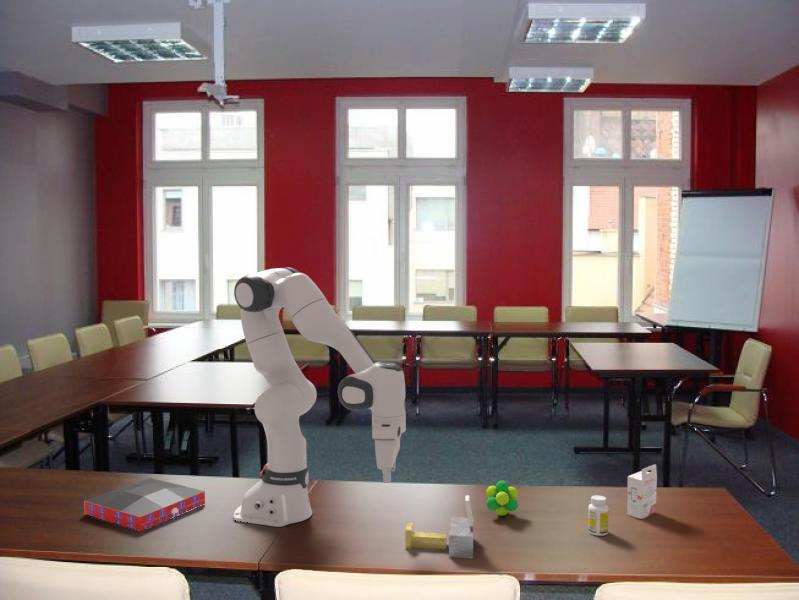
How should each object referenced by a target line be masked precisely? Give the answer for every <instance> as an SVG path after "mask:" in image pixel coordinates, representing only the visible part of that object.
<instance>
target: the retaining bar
mask: <svg viewBox="0 0 799 600" xmlns="http://www.w3.org/2000/svg"><path fill="white" fill-rule="evenodd" d="M464 499H465V500H464V502H465V509H466V514H467V518H468V522H469V528H470V529H473V525H474V524H475V523H474V522H475V521H473V518H474V516H473V510H472V503H471V499H470V495H469V494H468V495H466V494H465V498H464ZM474 526H475V525H474Z"/></svg>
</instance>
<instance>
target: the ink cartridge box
mask: <svg viewBox="0 0 799 600" xmlns="http://www.w3.org/2000/svg"><path fill="white" fill-rule="evenodd" d="M649 471H650V472H649ZM657 473H658V470H657V464H652V465H649V466H646V467H645V468H642V469H641V471H637V472H635V473H633V474H630V475H628V476H627V493H626V494H627V495H626V496H627V497H626V498H627V502H626V503H627V504H626V506H627V509H626V516H629V517H633V518H636V519H639V520H642V519H645V518H647V517H649V516H651V515H653V514H655V513H656V512H657V492H658V491H657V486H658V485H657V484H658V474H657Z"/></svg>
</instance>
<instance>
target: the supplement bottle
mask: <svg viewBox="0 0 799 600" xmlns="http://www.w3.org/2000/svg"><path fill="white" fill-rule="evenodd" d="M590 502H591V503H590V504H589V505H588V509H587V510H588V511H587V531H588V533H589V534H591V535H593V536H598V537H599V536H600V537H602V536H603V537H604V536H606V535H608V534H609V511H610V510H609V506H608V505H607V497H606V496H602V495H599V494H598V495H595V494H594V495H592V496H591V498H590Z"/></svg>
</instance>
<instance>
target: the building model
mask: <svg viewBox="0 0 799 600" xmlns="http://www.w3.org/2000/svg"><path fill="white" fill-rule="evenodd" d="M205 492H206V491H205V490H201V489H198V488H194V487H190V486H185V485H181V484H178V483H172V482H168V481H164V480H160V479H156V478H152V477H148V478H146V479H142V480H139V481H137V482H135V483H131V484H128V485H125V486H122V487H120V488H119V487H118V488H116V489H114V490H110V491H108V492H105V493H102V494H99V495H96V496H93V497H90V498H87V499H84V500H83V502H84V504H83V506H84V515H85V514H87V515H90V516H94V517H96V518H99V519H104V520H106V521H109V522H113V523H116V524H120V525H123V526H126V527H129V528H128V529H130V528H133V529H136V530H139V531H142V530H144V529H146V528H149V527H151V526H154V525H156V524H159V523H161V522H163V521H166V520H168V519H170V518H172V517H175V516H177V515H178V516H179V514H182V513H184V512H186V511H189V510H191V509H193V508H195V507H198V506H200V505H203V504H205V505H206V498H205V497H206V493H205ZM182 515H183V514H182ZM179 517H180V516H179ZM96 518H95V519H96ZM175 518H176V517H175ZM99 519H98V520H99ZM106 521H105V522H106ZM168 521H169V520H168ZM109 522H108V523H109ZM166 522H167V521H166ZM163 523H164V522H163ZM116 524H115V525H116ZM161 524H162V523H161ZM159 525H160V524H159ZM156 526H157V525H156ZM126 527H125V528H126ZM154 527H155V526H154ZM151 528H152V527H151ZM133 529H132V530H133ZM149 529H150V528H149ZM136 530H135V531H136ZM139 531H138V532H139ZM144 531H145V530H144ZM142 532H143V531H142Z"/></svg>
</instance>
